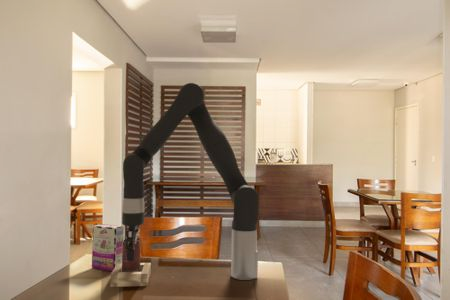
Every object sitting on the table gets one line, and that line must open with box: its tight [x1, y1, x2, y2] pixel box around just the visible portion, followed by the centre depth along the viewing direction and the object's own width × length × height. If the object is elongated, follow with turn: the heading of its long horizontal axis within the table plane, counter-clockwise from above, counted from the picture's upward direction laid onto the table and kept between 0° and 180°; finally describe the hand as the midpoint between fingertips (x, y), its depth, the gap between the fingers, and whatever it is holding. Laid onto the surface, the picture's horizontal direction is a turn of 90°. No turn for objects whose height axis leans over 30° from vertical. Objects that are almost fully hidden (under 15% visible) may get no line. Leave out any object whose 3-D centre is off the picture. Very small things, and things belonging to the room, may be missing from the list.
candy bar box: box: [91, 223, 125, 273], centre depth 130 cm, size 11×5×16 cm, turn 68°
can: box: [122, 238, 142, 272], centre depth 118 cm, size 6×6×14 cm
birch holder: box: [109, 262, 152, 288], centre depth 118 cm, size 12×12×4 cm
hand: (132, 257), depth 118 cm, fingers open, 8 cm apart
